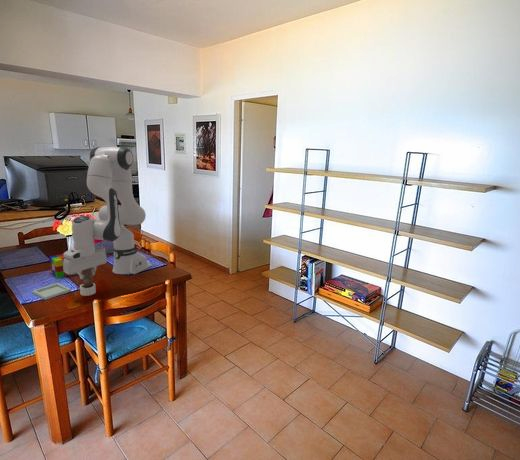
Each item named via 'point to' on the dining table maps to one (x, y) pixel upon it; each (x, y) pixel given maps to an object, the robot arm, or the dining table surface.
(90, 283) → the dowel
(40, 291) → the tray
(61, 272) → the toy
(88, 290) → the cup
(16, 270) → the dining table surface
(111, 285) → the dining table surface
